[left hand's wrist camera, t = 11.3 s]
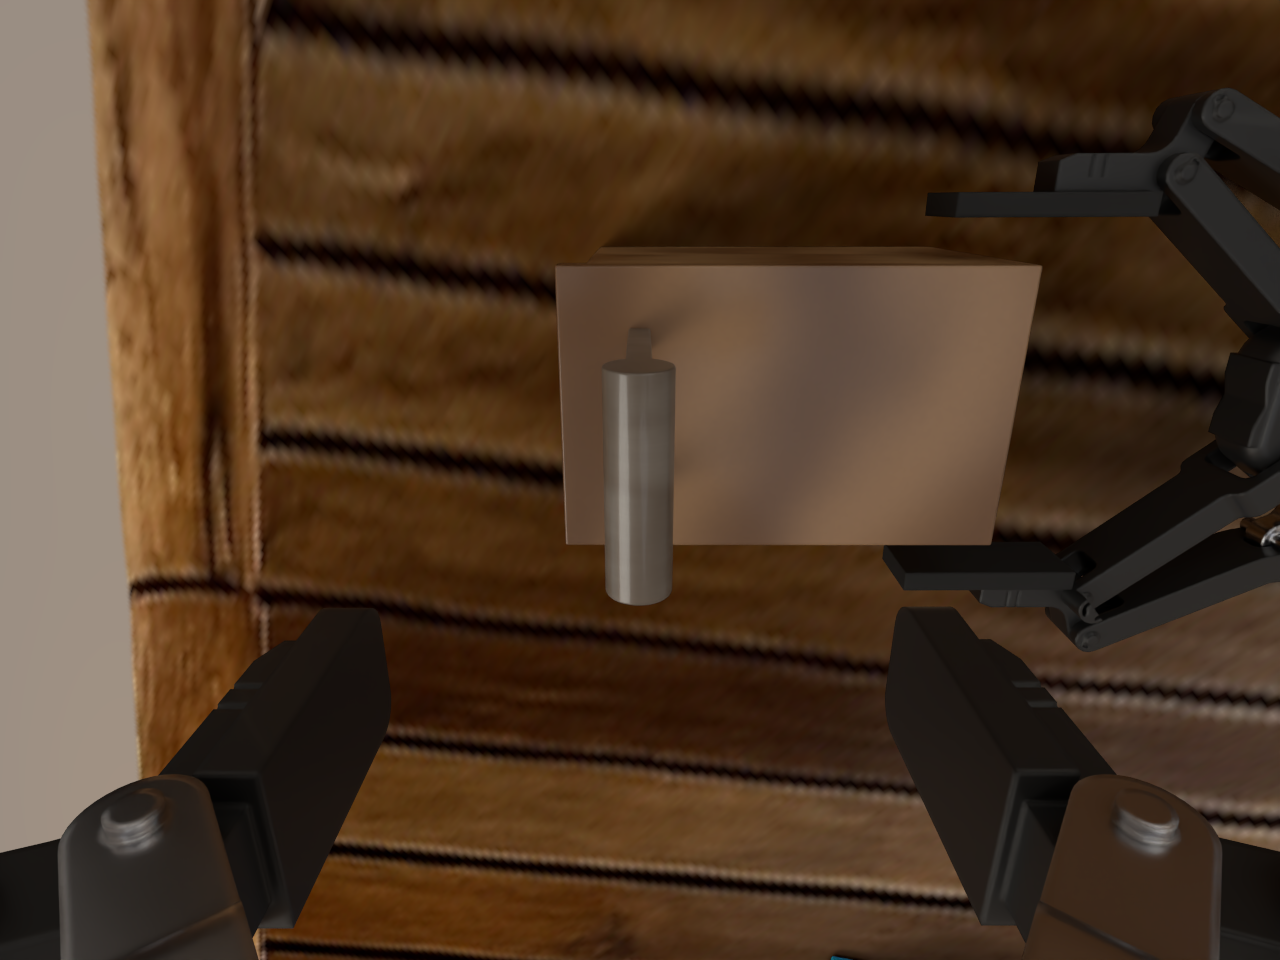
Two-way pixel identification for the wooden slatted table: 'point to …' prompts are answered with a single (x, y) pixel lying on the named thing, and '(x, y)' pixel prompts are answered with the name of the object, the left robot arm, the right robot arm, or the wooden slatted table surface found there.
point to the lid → (784, 405)
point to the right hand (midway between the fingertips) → (913, 400)
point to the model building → (838, 958)
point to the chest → (787, 255)
